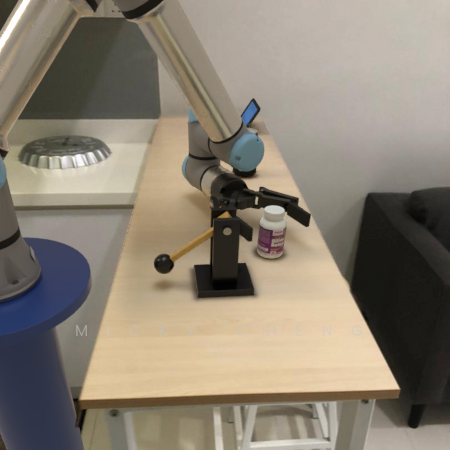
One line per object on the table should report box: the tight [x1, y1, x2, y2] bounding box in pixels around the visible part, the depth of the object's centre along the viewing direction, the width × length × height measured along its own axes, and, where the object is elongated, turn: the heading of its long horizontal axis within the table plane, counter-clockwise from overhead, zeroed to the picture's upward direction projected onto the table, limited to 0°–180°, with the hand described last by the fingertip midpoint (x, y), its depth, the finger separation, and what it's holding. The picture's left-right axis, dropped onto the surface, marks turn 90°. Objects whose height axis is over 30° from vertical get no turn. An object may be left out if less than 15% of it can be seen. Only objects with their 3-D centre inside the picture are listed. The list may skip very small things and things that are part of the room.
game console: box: [240, 97, 261, 128], centre depth 164 cm, size 16×14×9 cm
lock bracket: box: [193, 207, 255, 298], centre depth 82 cm, size 10×9×14 cm
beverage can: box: [232, 127, 260, 179], centre depth 127 cm, size 7×7×12 cm
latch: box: [153, 211, 232, 275], centre depth 80 cm, size 16×4×4 cm
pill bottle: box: [256, 205, 288, 260], centre depth 92 cm, size 5×5×10 cm
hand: (280, 227), depth 89 cm, fingers open, 13 cm apart
